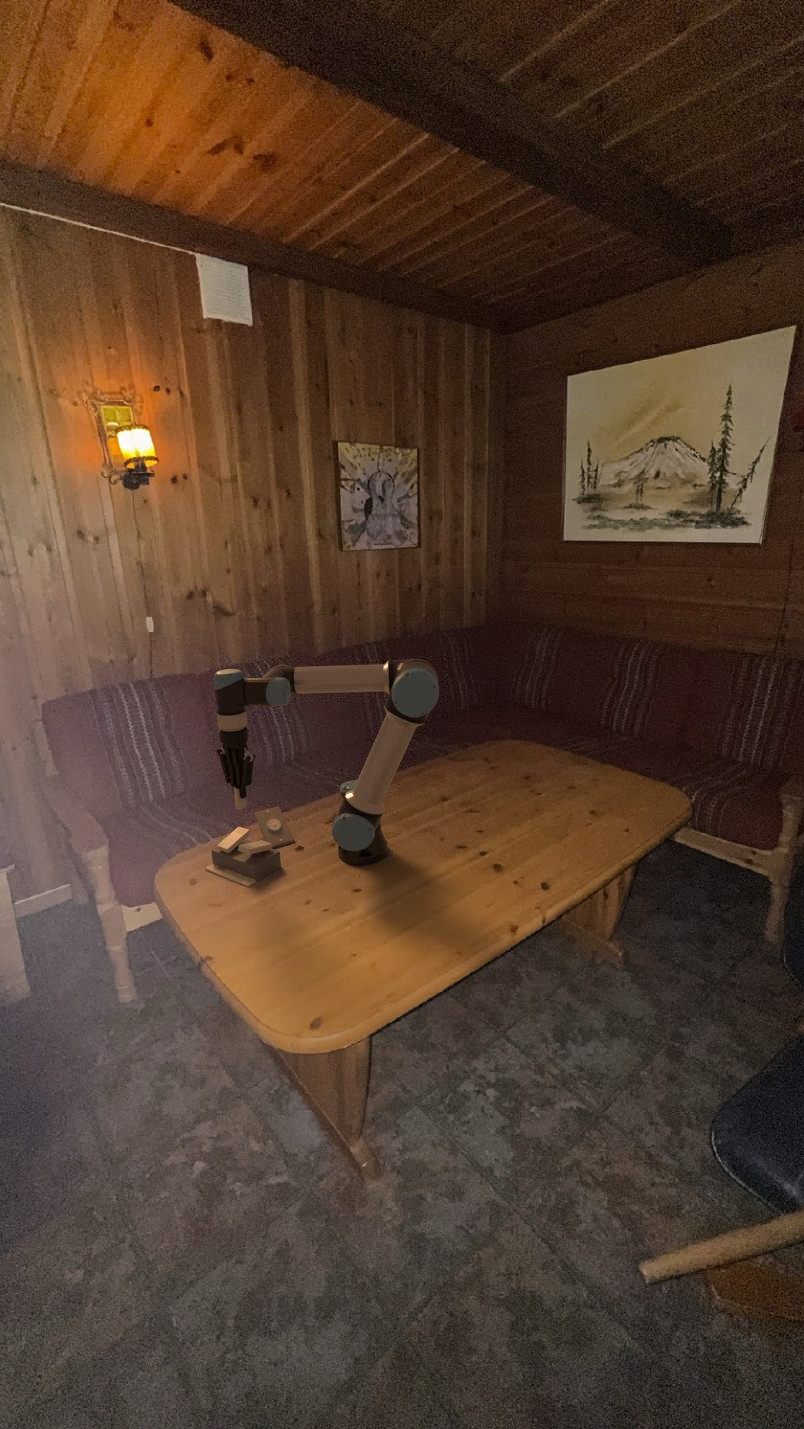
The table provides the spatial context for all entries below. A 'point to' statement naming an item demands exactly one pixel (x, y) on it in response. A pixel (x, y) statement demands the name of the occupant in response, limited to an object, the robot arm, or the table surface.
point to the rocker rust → (233, 839)
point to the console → (244, 864)
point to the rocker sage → (255, 847)
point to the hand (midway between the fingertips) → (241, 807)
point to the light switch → (274, 827)
